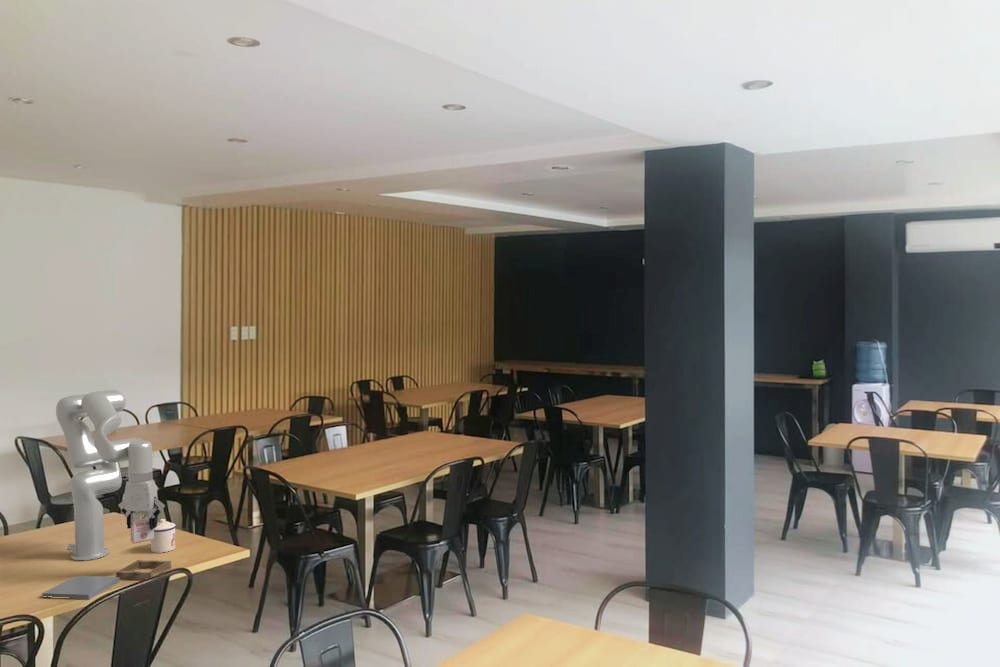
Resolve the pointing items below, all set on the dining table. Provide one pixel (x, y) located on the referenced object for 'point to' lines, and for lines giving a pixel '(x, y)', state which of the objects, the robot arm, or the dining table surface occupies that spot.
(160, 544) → the teacup with lid
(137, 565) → the tray
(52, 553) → the dining table surface
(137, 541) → the white red printed box
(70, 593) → the grey tile
